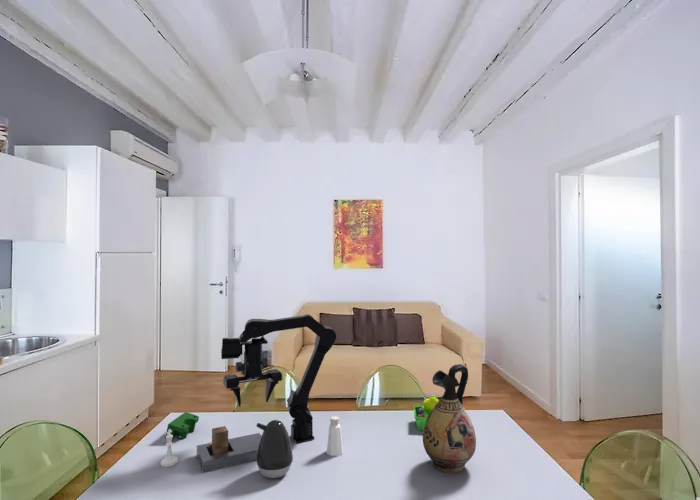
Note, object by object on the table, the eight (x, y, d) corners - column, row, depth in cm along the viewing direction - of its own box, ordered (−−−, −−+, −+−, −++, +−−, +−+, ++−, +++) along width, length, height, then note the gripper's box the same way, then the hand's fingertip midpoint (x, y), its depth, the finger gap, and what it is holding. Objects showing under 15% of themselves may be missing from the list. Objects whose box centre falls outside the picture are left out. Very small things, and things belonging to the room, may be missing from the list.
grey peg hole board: (259, 441, 141) (259, 432, 141) (270, 456, 131) (270, 446, 131) (196, 455, 132) (196, 444, 132) (202, 472, 121) (202, 460, 121)
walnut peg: (225, 454, 132) (225, 426, 132) (228, 460, 129) (228, 430, 129) (211, 457, 130) (212, 428, 130) (214, 463, 127) (214, 433, 127)
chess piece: (181, 460, 129) (181, 427, 129) (169, 467, 124) (170, 433, 124) (168, 457, 130) (168, 425, 131) (156, 465, 126) (156, 431, 126)
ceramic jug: (446, 484, 114) (445, 374, 115) (412, 460, 128) (412, 362, 129) (492, 470, 122) (491, 366, 123) (455, 448, 136) (455, 355, 136)
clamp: (181, 452, 144) (181, 433, 140) (165, 447, 144) (165, 427, 141) (200, 426, 155) (200, 407, 151) (185, 421, 155) (185, 402, 152)
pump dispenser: (260, 464, 126) (260, 413, 126) (295, 465, 125) (295, 414, 126) (251, 483, 116) (251, 427, 116) (289, 483, 115) (289, 427, 116)
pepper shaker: (346, 450, 135) (346, 416, 135) (338, 457, 130) (338, 422, 130) (331, 447, 137) (331, 413, 137) (323, 454, 132) (323, 419, 132)
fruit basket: (413, 419, 161) (413, 389, 161) (437, 420, 160) (437, 390, 160) (414, 431, 150) (414, 399, 150) (439, 432, 148) (439, 400, 149)
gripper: (272, 349, 152) (272, 392, 152) (220, 355, 144) (219, 401, 143) (283, 356, 143) (282, 402, 142) (226, 362, 134) (226, 411, 134)
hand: (253, 404), depth 141 cm, fingers open, 9 cm apart
